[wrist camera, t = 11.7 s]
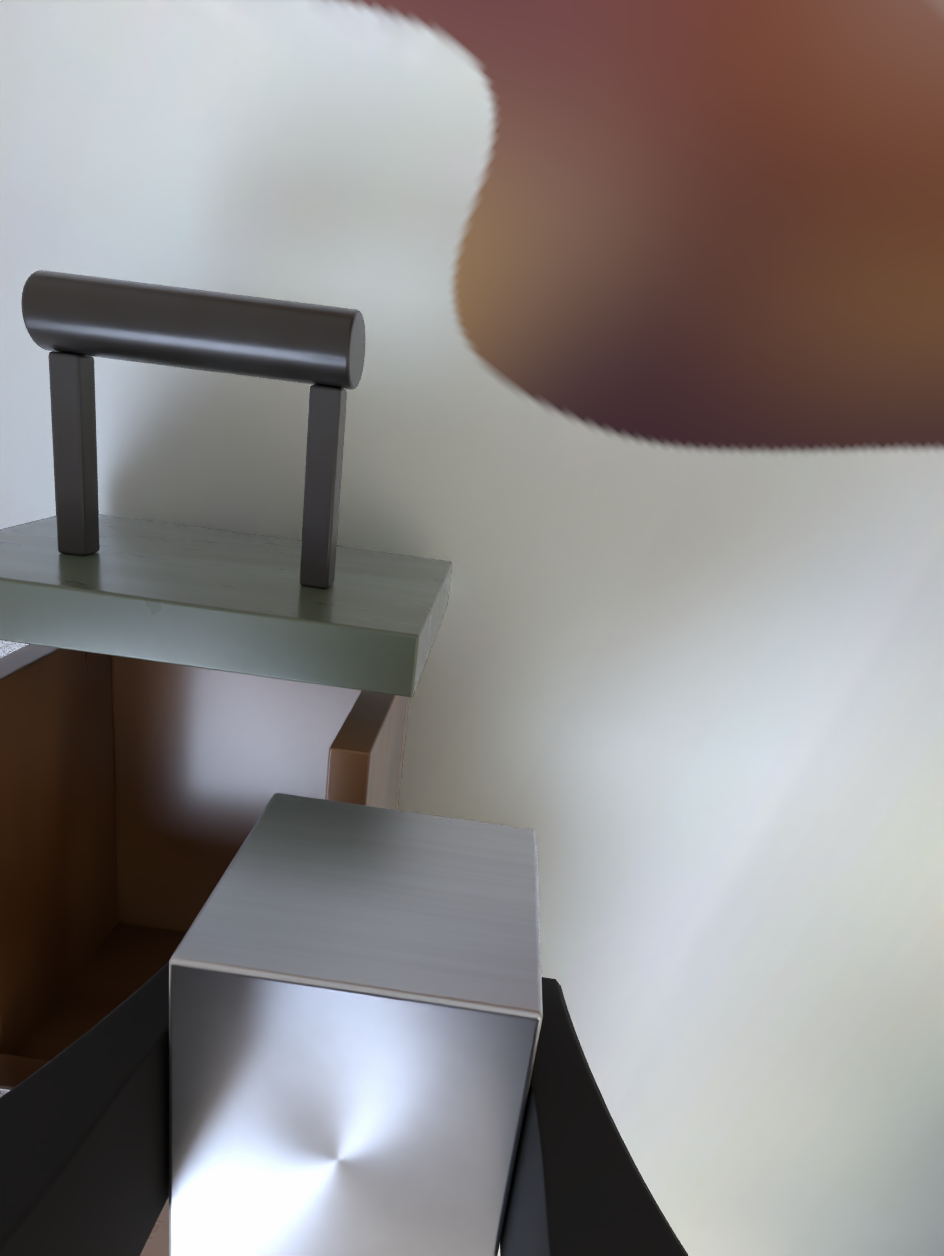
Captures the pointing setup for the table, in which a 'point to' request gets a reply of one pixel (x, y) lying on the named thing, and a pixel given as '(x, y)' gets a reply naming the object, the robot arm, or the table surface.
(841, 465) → the table surface
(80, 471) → the drawer
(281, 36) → the table surface
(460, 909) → the shiny metal block
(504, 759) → the table surface
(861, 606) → the table surface
